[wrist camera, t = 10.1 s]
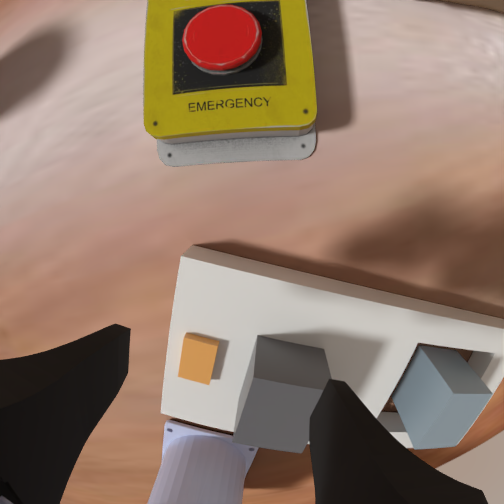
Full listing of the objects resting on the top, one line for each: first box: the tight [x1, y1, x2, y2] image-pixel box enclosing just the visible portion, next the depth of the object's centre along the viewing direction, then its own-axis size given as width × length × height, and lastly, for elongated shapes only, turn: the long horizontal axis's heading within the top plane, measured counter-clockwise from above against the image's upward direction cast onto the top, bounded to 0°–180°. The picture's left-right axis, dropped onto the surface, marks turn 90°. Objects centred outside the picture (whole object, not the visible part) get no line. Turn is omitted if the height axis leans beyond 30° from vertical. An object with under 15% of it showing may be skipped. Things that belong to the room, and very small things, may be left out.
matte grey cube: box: [232, 335, 332, 453], centre depth 16 cm, size 5×4×4 cm
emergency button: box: [143, 0, 317, 167], centre depth 14 cm, size 9×4×15 cm
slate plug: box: [392, 345, 493, 449], centre depth 18 cm, size 5×4×6 cm
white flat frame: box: [161, 245, 504, 448], centre depth 19 cm, size 12×26×3 cm, turn 77°
